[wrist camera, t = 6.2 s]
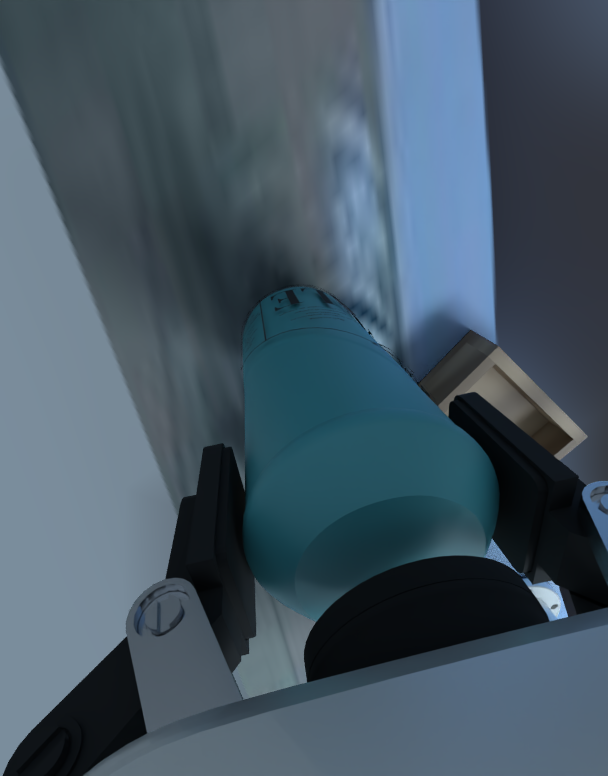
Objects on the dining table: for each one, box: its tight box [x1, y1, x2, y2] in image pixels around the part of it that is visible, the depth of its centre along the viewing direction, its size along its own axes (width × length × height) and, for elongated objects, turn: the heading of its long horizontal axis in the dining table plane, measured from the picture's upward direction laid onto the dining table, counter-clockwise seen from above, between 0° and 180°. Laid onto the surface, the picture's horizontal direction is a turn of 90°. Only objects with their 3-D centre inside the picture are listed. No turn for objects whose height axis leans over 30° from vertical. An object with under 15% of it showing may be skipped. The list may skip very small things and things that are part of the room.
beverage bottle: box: [241, 285, 550, 683], centre depth 14 cm, size 6×7×20 cm
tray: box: [418, 330, 588, 460], centre depth 27 cm, size 12×12×3 cm
